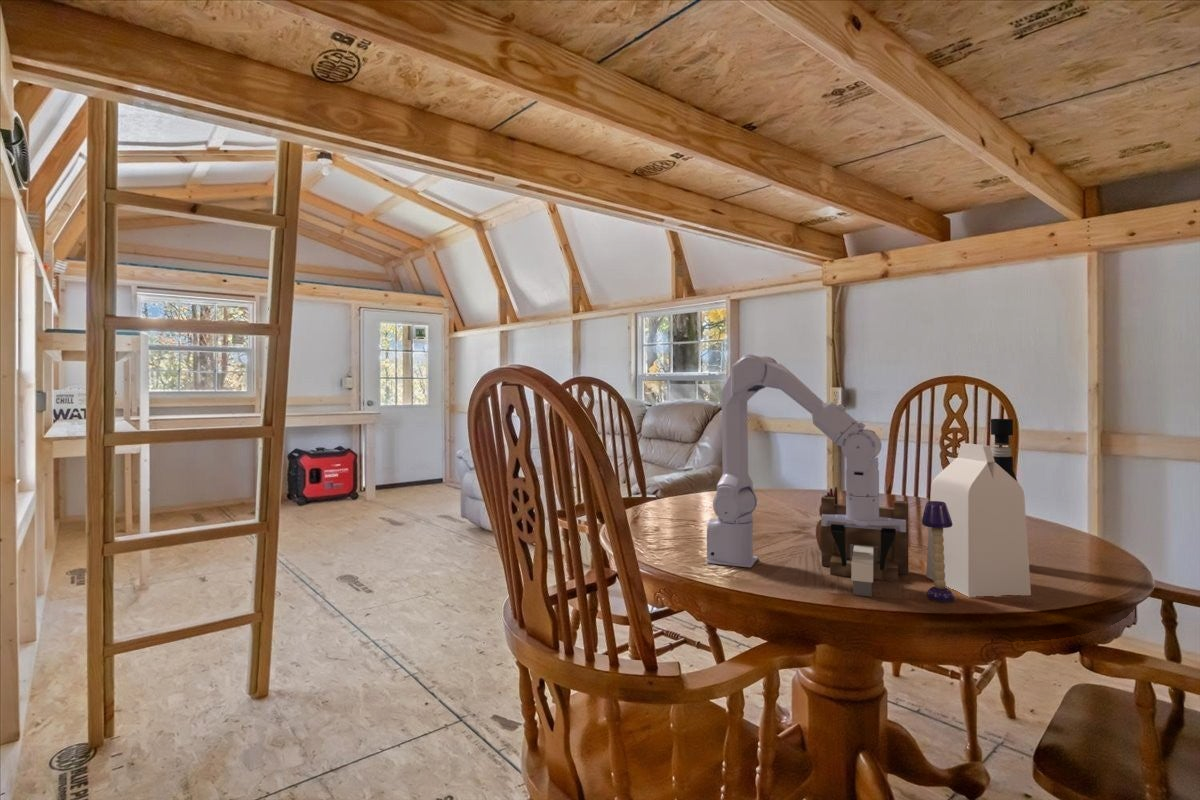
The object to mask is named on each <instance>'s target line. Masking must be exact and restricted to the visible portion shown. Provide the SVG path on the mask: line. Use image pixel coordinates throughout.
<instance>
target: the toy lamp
mask: <svg viewBox="0 0 1200 800" xmlns="http://www.w3.org/2000/svg"><path fill="white" fill-rule="evenodd" d="M921 525H922V526H923V527H928V528H929V527H932V533H933V536H932V541H933V546H932V548H933V551H934V553H933V559H934V562H933V567H934V569H935V570H934V577H935V580H933V584H934V586H932V587H929V589H928V590H927V591H926V594H925V596H926V598H927V599H929V600H930V601H934V602H939V603H952V602H954V601H955V595H954V593H953V592H952V591H951V589H950V588H948V587H946V582H945V580H944V579H945V572H944V569H945V564H944V562H943V561H944V558H945V557H944V553H943V551H944V546H943V542H944V538H943V535H942V534H943V528H949V527H952V520H951V517H950V514H949V511H948V508H947V505H946V503H945V502H941V501H930V500H929V501H927V502H926V503H925V506H924V511H923V516H922V519H921Z"/></svg>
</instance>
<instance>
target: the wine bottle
mask: <svg viewBox="0 0 1200 800" xmlns="http://www.w3.org/2000/svg"><path fill="white" fill-rule="evenodd" d="M990 435H992V436H994V443H993V444H994V445H995V446H993V448H992V451H993V452H992V454H993V457H994V460H995V463H997V464H998V465H999V466H1000V467H1001V468H1002V469H1003V470H1005V471H1006V472H1007V473H1008V474H1009V475H1010V476H1011V477H1012V478H1014V479H1015V480H1016V481H1017V482H1018V479H1017V477H1016V474H1015V471H1014V457H1013V456H1012V453H1011V452H1012V449H1011V447H1006V446H1009V445H1011V444H1010V436H1013V435H1014V419H1013V418H991V419H990Z"/></svg>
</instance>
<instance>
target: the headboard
mask: <svg viewBox="0 0 1200 800" xmlns="http://www.w3.org/2000/svg"><path fill="white" fill-rule="evenodd" d="M820 506H821V516H822V514H827V515H846V504H839V505H837V504H835V497H824V496H821V500H820ZM821 516H820V517H821ZM879 517H884V518H892V519H901V520H906V532H900V531H896V536H895V539H894V541H893V543H892V544H891V547H890V549H889V551H888V554H887V557H886V560H885V565H884V570H880V554H881V530H879V529H866V528H853V527H846V557H847V564H846V566H842V560H841V556H840V552H839V549H838V546H837V544H836V542H835V539H834V537H833V536H832V533H831V526H821V530H822V552H821V567H829V572H830V575H834V576H840V577H841V576H842V577H851V562H852V561H850V544H859V545H870V546H878V564H877V563H873V580H879V581H880V580H881V581H889V582H899V575H905V576H906V575H907V576H908V575H909V502H908V501H906V500H893V507H886V506H885V507H883V506H879ZM870 526H872V525H870Z"/></svg>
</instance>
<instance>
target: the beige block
mask: <svg viewBox="0 0 1200 800" xmlns="http://www.w3.org/2000/svg"><path fill="white" fill-rule="evenodd" d="M850 561H852V562H851V576H850V577H851V579H850V580H851V581H852V595H853V596H854V595H855V596H863V597H871V598H872V597H873V595H872V593H873V591H872V588H873V587H872V583H874V579H873V563H877V564H878V546H870V545H859V544H850Z"/></svg>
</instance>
